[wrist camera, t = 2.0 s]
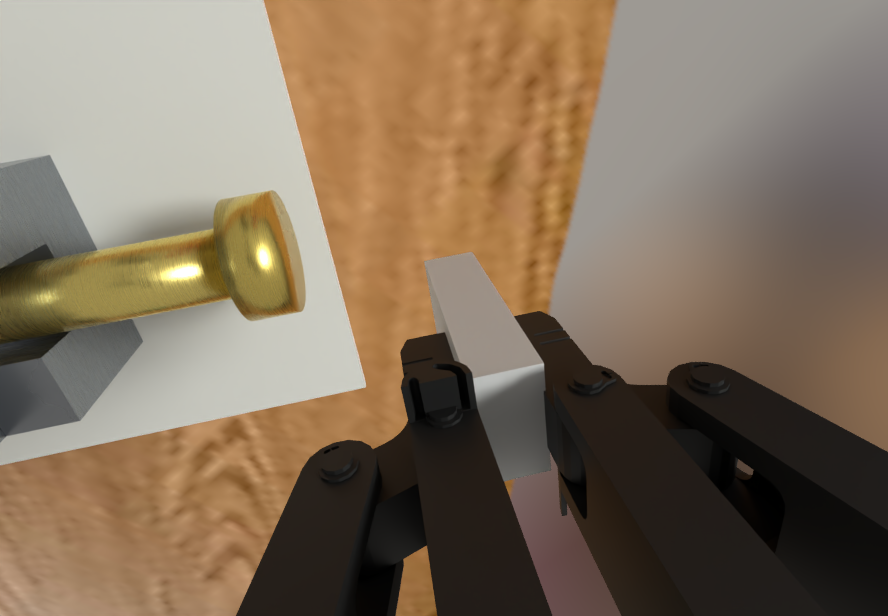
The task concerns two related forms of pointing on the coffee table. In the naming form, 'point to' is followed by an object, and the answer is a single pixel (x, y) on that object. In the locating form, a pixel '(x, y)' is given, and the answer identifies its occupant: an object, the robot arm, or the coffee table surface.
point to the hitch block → (62, 354)
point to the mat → (173, 195)
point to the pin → (163, 275)
